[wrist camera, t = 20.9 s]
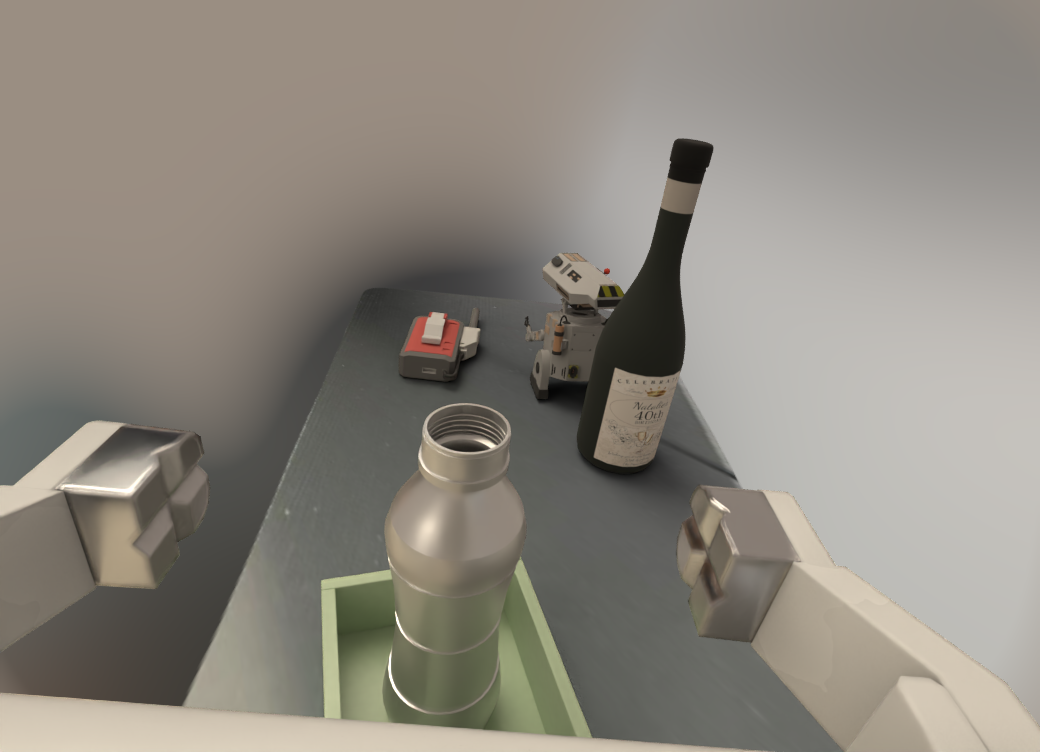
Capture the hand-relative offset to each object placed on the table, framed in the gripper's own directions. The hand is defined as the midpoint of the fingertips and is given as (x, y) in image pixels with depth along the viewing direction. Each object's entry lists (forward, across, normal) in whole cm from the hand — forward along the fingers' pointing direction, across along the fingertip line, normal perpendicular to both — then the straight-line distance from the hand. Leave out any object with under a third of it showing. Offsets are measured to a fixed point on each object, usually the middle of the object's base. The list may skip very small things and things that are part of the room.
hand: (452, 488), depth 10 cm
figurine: (+53, +10, -28) cm, 61 cm away
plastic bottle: (+12, 0, -27) cm, 30 cm away
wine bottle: (+40, +14, -28) cm, 51 cm away
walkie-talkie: (+59, -5, -28) cm, 65 cm away
